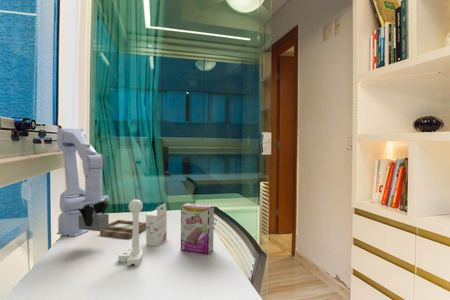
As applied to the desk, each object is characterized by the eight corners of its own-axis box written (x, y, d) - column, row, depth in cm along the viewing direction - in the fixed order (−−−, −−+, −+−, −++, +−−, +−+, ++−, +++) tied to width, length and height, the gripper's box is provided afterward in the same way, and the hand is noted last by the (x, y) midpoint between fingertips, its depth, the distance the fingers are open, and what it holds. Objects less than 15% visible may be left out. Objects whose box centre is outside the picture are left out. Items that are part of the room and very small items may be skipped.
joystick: (142, 265, 89) (142, 202, 89) (116, 268, 87) (116, 204, 87) (142, 252, 100) (142, 196, 99) (119, 254, 98) (119, 196, 97)
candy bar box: (179, 250, 102) (180, 205, 101) (186, 245, 107) (186, 202, 106) (208, 255, 98) (209, 208, 98) (213, 250, 103) (214, 205, 102)
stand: (100, 235, 117) (100, 227, 117) (121, 225, 131) (121, 218, 130) (129, 238, 113) (129, 230, 113) (148, 228, 127) (148, 221, 127)
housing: (78, 228, 104) (78, 213, 104) (88, 225, 109) (88, 210, 108) (99, 231, 101) (99, 215, 101) (108, 227, 106) (108, 212, 106)
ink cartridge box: (155, 237, 115) (155, 201, 114) (166, 238, 114) (167, 202, 113) (145, 245, 106) (145, 206, 106) (157, 246, 105) (157, 207, 105)
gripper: (88, 191, 96) (88, 230, 97) (115, 184, 110) (115, 219, 111) (71, 189, 98) (71, 228, 99) (100, 183, 112) (100, 217, 113)
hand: (93, 223), depth 105 cm, fingers closed on housing, 5 cm apart
